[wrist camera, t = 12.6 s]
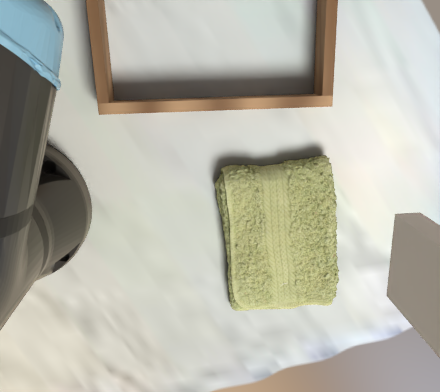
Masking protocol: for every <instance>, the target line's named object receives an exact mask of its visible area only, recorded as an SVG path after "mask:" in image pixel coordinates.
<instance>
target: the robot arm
mask: <svg viewBox="0 0 440 392" xmlns="http://www.w3.org/2000/svg"><path fill="white" fill-rule="evenodd" d="M63 39H64V31H63V27H62V23H61V21H60V19H59V17H58V15H57V14H56V12H55V11H54V10H53V9H52V7H50V6H49V5H48V4H47V3H46V2H45V1H44V0H0V330H1V329H2V327H3V326H4V324H5V323H6V322H7V320H8V319H9V317H10V316H11V314H12V313H13V312H14V310H15V309H16V307H17V306H18V305H19V303H20V302H21V300H22V299H23V297H24V296H25V295H26V293H27V292H28V290H29V289H30V287H31V286H32V285H33V283H34V282H35V281H36V280H39V279H41V278H43V277H45V276H47V275H50V274H52V273H54V272H55V271H57V270H59V269H60V268H62V267H63V266H64V265H65V264H67V263H68V262H69V261H70V260H71V259H72V258H73V257H74V255H75V254H76V253H77V251H78V250H79V248H80V247H81V245H82V243H83V242H84V240H85V238H86V236H87V234H88V231H89V228H90V224H91V218H92V205H91V198H90V194H89V191H88V188H87V186H86V183H85V181H84V179H83V178H82V176H81V174H80V173H79V171H78V170H77V169H76V167H75V166H74V165H73V164H72V163H71V162H70V161H69V160H68V159H67V158H66V157H65V156H64V155H63V154H61V153H60V152H59V151H57V150H56V149H54V148H53V147H51V146H49V145H47V144H46V143H47V138H48V133H49V127H50V122H51V117H52V112H53V107H54V102H55V96H56V91H57V90H60V86H61V83H60V80H59V79H58V76H59V68H60V61H61V54H62V46H63ZM387 297H388V298H389V299H390V300H391V301H392V303H393V304H394V305H395V306H396V307H397V308H398V310H399V311H400V312H401V313H402V314H403V316H404V317H405V318H406V319H407V320H408V321H409V323H410V324H411V325H412V326H413V327H414V329H415V330H416V331H417V332H418V333H419V334H420V336H421V337H422V338H423V339H424V340H425V341H426V343H427V344H428V345H429V346H430V347H431V349H432V350H433V351H434V352H435V353H436V354H437V356H438V357H439V358H440V225H438V224H437V223H435V222H434V221H432V220H431V219H429V218H428V217H426V216H424V215H423V214H421V213H404V214H395V220H394V230H393V239H392V249H391V258H390V268H389V277H388V287H387Z"/></svg>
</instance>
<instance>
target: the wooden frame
mask: <svg viewBox="0 0 440 392" xmlns="http://www.w3.org/2000/svg"><path fill="white" fill-rule="evenodd" d="M337 5H338V0H317V17H316V43H315V69H314V94H294V95H265V96H235V97H205V98H176V99H146V100H116V101H114V92H113V82H112V73H111V63H110V53H109V43H108V33H107V23H106V14H105V4H104V0H86V6H87V14H88V23H89V32H90V41H91V49H92V58H93V67H94V76H95V84H96V93H97V102H98V111H99V115H102V114H130V113H158V112H187V111H215V110H243V109H271V108H299V107H328V106H332V101H333V82H334V63H335V44H336V24H337Z"/></svg>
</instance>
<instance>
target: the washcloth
mask: <svg viewBox="0 0 440 392" xmlns="http://www.w3.org/2000/svg"><path fill="white" fill-rule="evenodd" d="M332 176H333V174H332V167H331V163H329V158H327V156H325V155H323V156H321V155H320V156H319V157H314V158H313V157H311V158H308V159H299V160H288V161H286V160H285V161H284V162H283V163H281V164H274V165H266V166H260V167H259V166H257V165H247V166H245V165H242V166H239V165H232V166H230V165H228V166H225V167H223V168H221V175H220V176H219V179H218V180H217V181H216V182H215V188H216V190H217V191H216V192H217V197H216V199H217V200H218V205H219V206H218V207H219V208H220V210H219V212H220V213H221V217H222V223H223V231H224V236H225V240H226V250H227V252H226V254H227V262H228V263H229V267H228V273H227V274H228V285H229V288H228V289H229V292H230V294H229V298H230V304H231V307H232V309H234V310H236V311H243V310H250V309H292V308H296V307H298V306H302V305H325V306H328V305H331V304H332V301H333V298H334V297H336V292H335V291H336V290H337V288H336V285H337V283H338V281H339V278H338V271H339V270H338V266H337V263H336V262H337V258H338V257H337V256H336V254H337V253H336V250H337V246H336V244H337V240H336V236H337V234H336V229H337V222H336V216H335V214H336V213H335V211H336V207H337V204H336V201H335V200H336V195H335V192H334V191H335V189H334V182H333V177H332Z"/></svg>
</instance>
